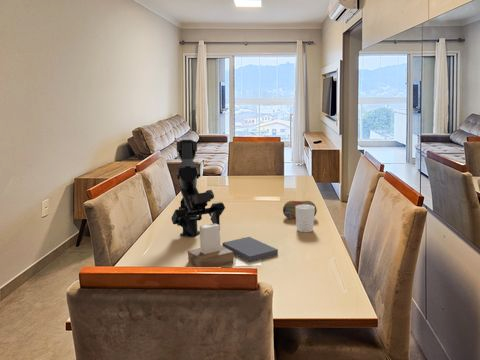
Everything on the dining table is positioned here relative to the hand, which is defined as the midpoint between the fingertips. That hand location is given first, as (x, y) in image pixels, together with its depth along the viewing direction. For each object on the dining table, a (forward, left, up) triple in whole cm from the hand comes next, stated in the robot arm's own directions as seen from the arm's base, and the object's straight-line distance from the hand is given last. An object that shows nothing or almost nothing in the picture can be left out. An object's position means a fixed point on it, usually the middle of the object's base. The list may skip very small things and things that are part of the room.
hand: (207, 233), depth 155 cm
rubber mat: (-14, +9, -10) cm, 20 cm away
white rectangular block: (+1, +1, -6) cm, 6 cm away
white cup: (-46, +21, -10) cm, 52 cm away
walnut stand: (+1, +1, -10) cm, 10 cm away
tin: (-62, +14, -10) cm, 65 cm away
